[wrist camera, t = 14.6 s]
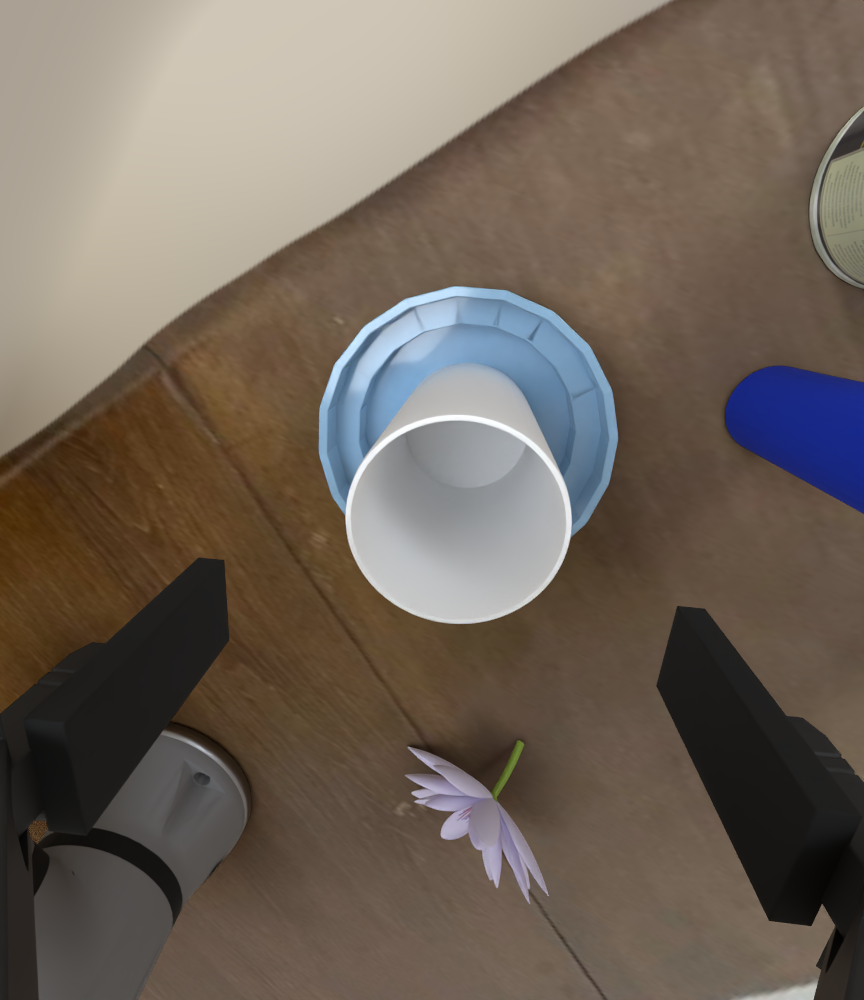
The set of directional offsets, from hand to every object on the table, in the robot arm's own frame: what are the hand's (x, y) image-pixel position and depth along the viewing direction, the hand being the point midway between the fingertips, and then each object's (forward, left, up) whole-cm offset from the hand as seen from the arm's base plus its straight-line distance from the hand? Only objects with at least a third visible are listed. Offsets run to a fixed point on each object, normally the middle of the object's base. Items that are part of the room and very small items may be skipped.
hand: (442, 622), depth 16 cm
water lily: (+3, -27, -21) cm, 34 cm away
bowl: (0, +1, -21) cm, 21 cm away
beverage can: (+18, +4, -21) cm, 28 cm away
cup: (0, +1, -21) cm, 21 cm away
